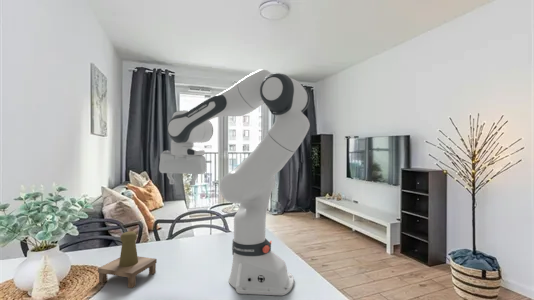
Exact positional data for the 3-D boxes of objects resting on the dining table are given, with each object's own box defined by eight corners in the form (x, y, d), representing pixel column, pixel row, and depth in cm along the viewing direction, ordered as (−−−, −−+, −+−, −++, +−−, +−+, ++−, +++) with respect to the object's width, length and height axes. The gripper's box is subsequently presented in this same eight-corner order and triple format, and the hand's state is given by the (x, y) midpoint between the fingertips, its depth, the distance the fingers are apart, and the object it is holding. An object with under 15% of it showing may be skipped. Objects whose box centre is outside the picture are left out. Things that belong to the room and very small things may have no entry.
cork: (115, 266, 92) (115, 234, 92) (126, 259, 98) (126, 229, 98) (130, 267, 91) (130, 235, 91) (141, 260, 97) (141, 230, 97)
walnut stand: (156, 272, 99) (156, 258, 99) (132, 288, 87) (132, 273, 87) (125, 267, 102) (125, 254, 102) (97, 282, 91) (98, 268, 91)
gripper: (155, 150, 109) (155, 184, 109) (200, 151, 103) (200, 186, 103) (165, 150, 115) (165, 182, 115) (208, 150, 109) (208, 184, 110)
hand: (182, 184), depth 109 cm, fingers open, 8 cm apart
